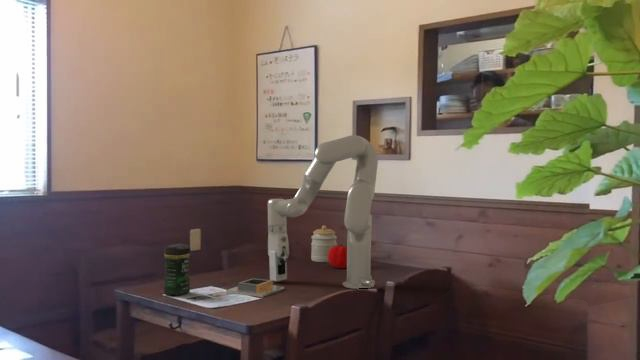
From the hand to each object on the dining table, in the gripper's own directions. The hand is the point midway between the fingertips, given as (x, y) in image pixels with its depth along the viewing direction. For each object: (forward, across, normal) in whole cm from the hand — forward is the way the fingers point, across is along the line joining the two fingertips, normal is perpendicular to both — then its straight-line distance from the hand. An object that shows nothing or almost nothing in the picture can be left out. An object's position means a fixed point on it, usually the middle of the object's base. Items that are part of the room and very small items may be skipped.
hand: (278, 272), depth 251 cm
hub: (+4, -9, +16) cm, 19 cm away
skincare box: (+3, 0, 0) cm, 3 cm away
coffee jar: (+3, +2, +43) cm, 43 cm away
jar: (+4, +36, -47) cm, 59 cm away
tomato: (+5, +15, -42) cm, 45 cm away
